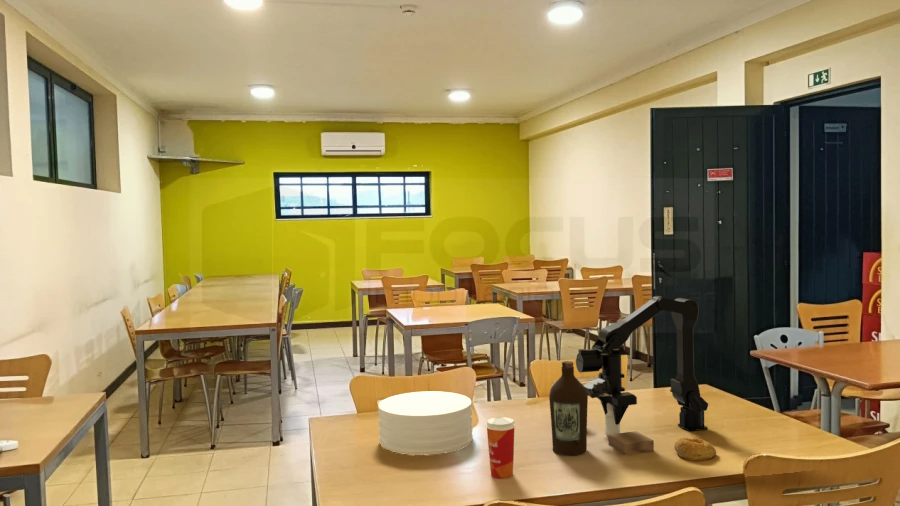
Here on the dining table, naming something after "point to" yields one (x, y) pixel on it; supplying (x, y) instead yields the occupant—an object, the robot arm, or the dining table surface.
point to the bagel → (694, 449)
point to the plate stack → (425, 422)
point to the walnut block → (631, 442)
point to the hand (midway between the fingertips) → (612, 421)
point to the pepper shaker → (611, 421)
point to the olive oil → (568, 413)
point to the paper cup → (501, 446)
